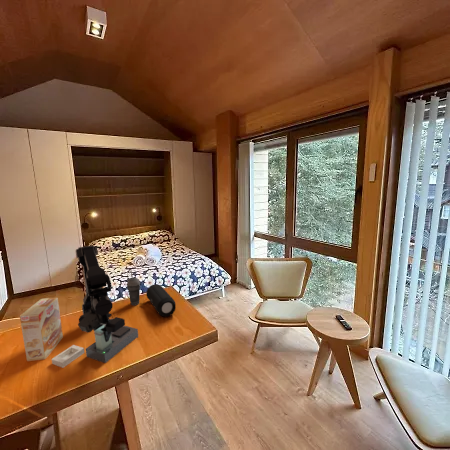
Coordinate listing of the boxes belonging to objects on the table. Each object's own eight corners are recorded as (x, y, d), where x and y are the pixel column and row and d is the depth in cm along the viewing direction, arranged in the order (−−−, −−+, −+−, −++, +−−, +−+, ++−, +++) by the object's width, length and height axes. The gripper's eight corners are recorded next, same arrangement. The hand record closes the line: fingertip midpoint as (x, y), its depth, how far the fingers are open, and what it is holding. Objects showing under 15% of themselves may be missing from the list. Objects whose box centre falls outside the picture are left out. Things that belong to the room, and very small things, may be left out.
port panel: (86, 357, 99) (85, 347, 98) (121, 332, 115) (120, 323, 114) (105, 364, 95) (104, 353, 94) (138, 337, 112) (137, 327, 111)
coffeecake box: (46, 360, 98) (38, 314, 95) (26, 362, 97) (18, 316, 94) (64, 337, 113) (58, 296, 109) (46, 339, 112) (40, 298, 108)
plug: (96, 349, 99) (94, 331, 98) (106, 342, 103) (104, 324, 102) (102, 351, 98) (100, 332, 96) (112, 343, 102) (110, 326, 101)
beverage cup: (134, 307, 138) (131, 273, 135) (125, 304, 142) (122, 271, 139) (144, 302, 144) (141, 269, 141) (136, 299, 148) (133, 267, 145)
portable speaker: (146, 301, 146) (144, 285, 145) (162, 296, 151) (161, 281, 150) (159, 320, 125) (157, 302, 123) (177, 315, 130) (176, 297, 128)
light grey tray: (52, 364, 95) (51, 359, 95) (74, 350, 104) (73, 344, 103) (63, 368, 93) (62, 362, 93) (84, 353, 101) (83, 348, 101)
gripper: (63, 309, 94) (68, 347, 96) (100, 318, 87) (104, 359, 89) (89, 297, 104) (93, 331, 106) (124, 304, 97) (127, 341, 99)
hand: (103, 340), depth 100 cm, fingers closed on plug, 3 cm apart
